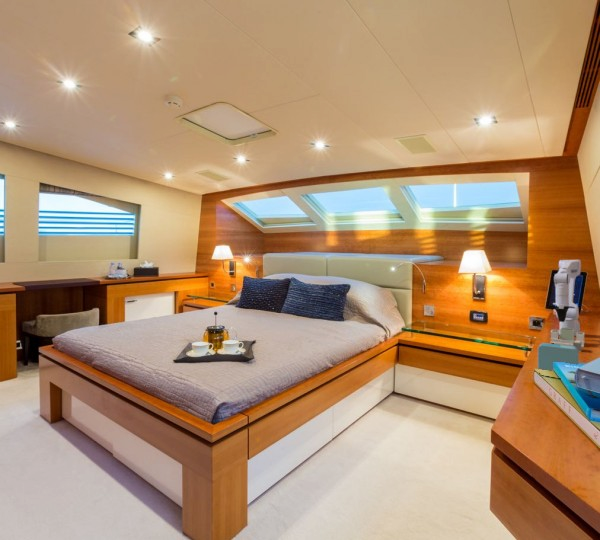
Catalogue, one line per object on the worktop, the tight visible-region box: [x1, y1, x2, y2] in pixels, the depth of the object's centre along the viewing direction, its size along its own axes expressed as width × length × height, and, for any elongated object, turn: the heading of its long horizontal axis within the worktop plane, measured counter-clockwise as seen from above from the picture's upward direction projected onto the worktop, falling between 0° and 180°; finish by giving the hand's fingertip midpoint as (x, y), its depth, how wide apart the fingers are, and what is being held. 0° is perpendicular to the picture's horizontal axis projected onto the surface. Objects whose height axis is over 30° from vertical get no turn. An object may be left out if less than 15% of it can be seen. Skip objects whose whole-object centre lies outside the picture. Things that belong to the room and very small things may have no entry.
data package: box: [537, 342, 580, 371], centre depth 133 cm, size 12×4×12 cm, turn 48°
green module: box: [559, 328, 575, 341], centre depth 183 cm, size 4×6×7 cm
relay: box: [573, 340, 583, 352], centre depth 170 cm, size 5×3×4 cm, turn 140°
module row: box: [550, 329, 585, 348], centre depth 183 cm, size 10×14×6 cm
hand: (562, 320), depth 191 cm, fingers open, 7 cm apart
